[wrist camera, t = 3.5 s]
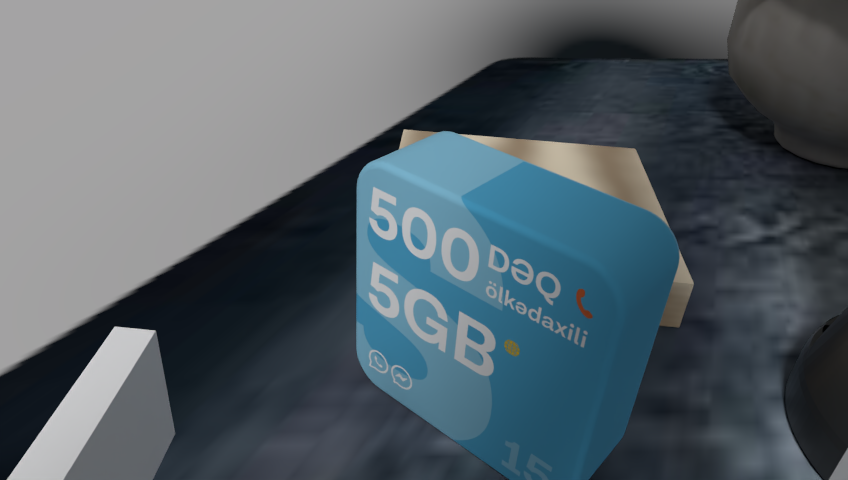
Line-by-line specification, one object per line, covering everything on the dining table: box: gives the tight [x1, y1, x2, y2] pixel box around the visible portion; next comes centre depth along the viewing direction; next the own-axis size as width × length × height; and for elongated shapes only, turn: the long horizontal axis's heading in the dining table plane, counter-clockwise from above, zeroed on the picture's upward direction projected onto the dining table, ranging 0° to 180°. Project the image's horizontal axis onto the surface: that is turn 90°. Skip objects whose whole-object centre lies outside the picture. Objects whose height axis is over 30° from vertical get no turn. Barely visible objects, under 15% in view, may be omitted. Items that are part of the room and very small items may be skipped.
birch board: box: [399, 130, 694, 327], centre depth 44 cm, size 17×16×3 cm
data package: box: [356, 131, 680, 480], centre depth 28 cm, size 12×4×12 cm, turn 49°
